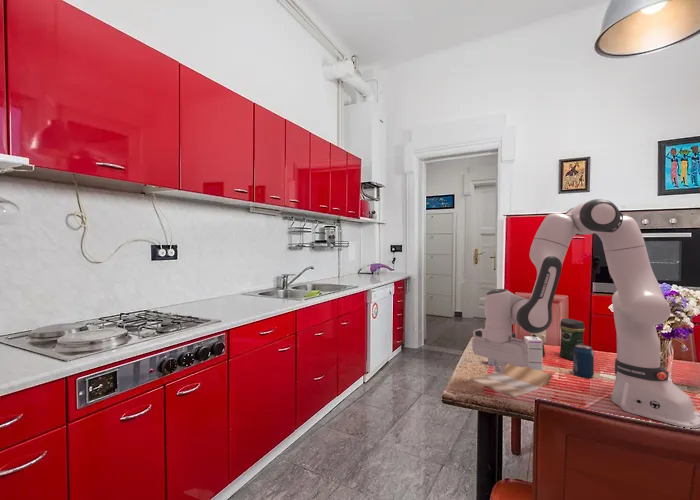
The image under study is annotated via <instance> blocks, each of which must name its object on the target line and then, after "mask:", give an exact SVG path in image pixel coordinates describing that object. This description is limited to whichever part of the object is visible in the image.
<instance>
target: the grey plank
mask: <svg viewBox="0 0 700 500" xmlns="http://www.w3.org/2000/svg"><path fill="white" fill-rule="evenodd" d="M484 377H487V378H490V379H492V380H495V381H498V382H501V383H503V384H506V385H509V386H511V387H514V388H517V389H519V390H522V391H525V392H528V393H531V392H533V391H535V390H537V389H541V387H538V386H536V385H533V384H530V383H527V382H524V381H521V380H518V379H515V378H512V377H509V376H507V375H504V374H501V373H498V372H495V371H493V372H492V373H489V374H485V375H484Z"/></svg>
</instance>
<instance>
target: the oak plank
mask: <svg viewBox="0 0 700 500" xmlns="http://www.w3.org/2000/svg"><path fill="white" fill-rule="evenodd" d="M503 375H506V376H509V377H512V378H515V379H518V380H520V381H523V382H526V383H529V384H532V385H535V386H538V387H540V388H543V387H545V386H547V385H548V383H549V382H550V381H551V379H552V378H553V375H552V373H549V372H545V371H539V370H536V369H533V368H530V367H526V366H525V367H518V366H515V365H511V364H508V363H507V366H506V367H505V368H504V374H503Z"/></svg>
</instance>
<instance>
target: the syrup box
mask: <svg viewBox="0 0 700 500" xmlns="http://www.w3.org/2000/svg"><path fill="white" fill-rule="evenodd" d="M523 341H525V342H526V344H527V353H528V359H529V364H528V365H527V366H526V367H530V368H533V369H536V370H539V371H543V370H544V369H543V367H544V366H543V362H544V361H543V360H544V358H543V354H542V340H541V339H540V338H538V337H533V336H530V335H529V336H527V335H526V336H525V335H524V336H523ZM543 372H544V371H543Z"/></svg>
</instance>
